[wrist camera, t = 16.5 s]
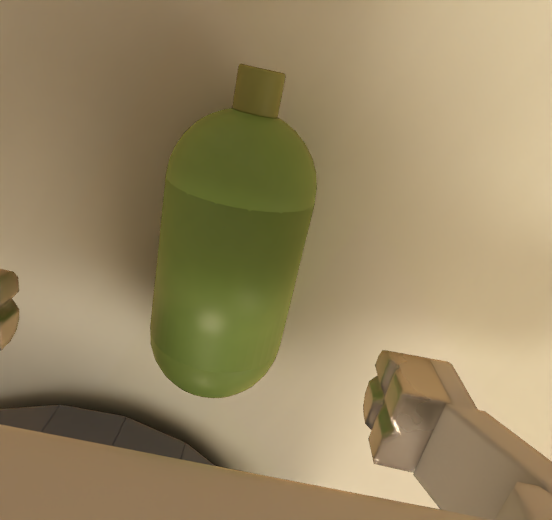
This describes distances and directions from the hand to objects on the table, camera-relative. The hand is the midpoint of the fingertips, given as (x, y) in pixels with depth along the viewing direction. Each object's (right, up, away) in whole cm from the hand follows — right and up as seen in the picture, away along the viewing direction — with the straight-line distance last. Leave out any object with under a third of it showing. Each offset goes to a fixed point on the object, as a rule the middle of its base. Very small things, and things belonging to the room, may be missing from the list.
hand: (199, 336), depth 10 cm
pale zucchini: (0, +2, +4) cm, 5 cm away
